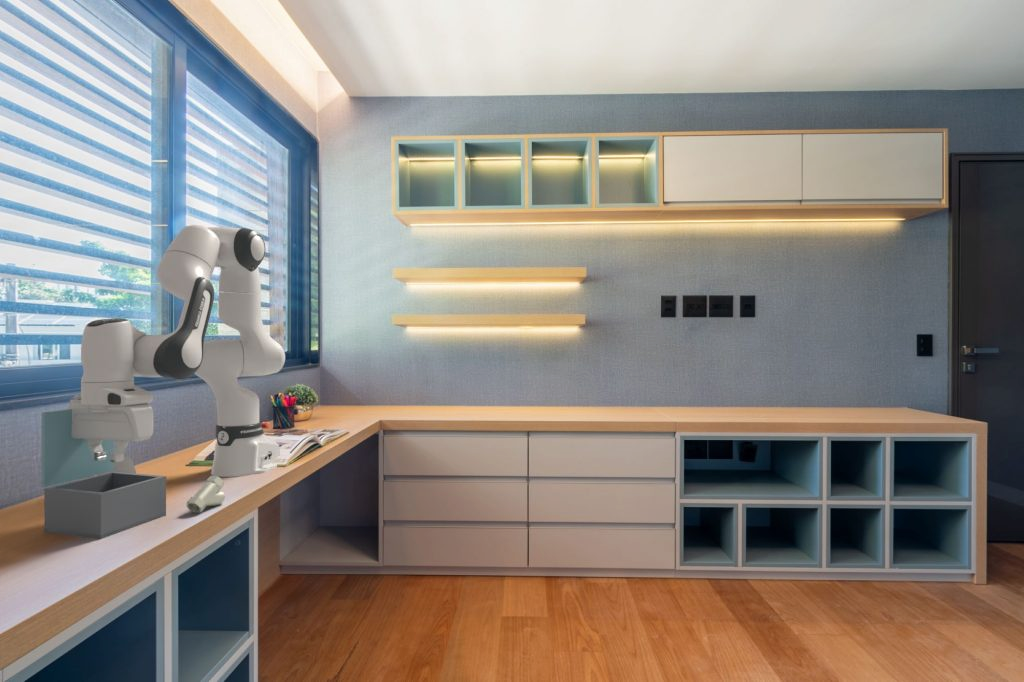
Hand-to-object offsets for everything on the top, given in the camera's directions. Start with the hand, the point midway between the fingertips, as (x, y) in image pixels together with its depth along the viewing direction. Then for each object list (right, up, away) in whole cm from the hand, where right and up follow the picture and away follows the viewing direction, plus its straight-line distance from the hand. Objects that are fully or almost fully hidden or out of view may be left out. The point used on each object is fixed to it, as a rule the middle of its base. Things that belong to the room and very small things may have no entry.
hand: (108, 460), depth 109 cm
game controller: (-19, -14, +24) cm, 34 cm away
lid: (-7, +3, +2) cm, 8 cm away
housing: (0, -14, 0) cm, 14 cm away
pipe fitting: (+16, -14, +12) cm, 24 cm away
